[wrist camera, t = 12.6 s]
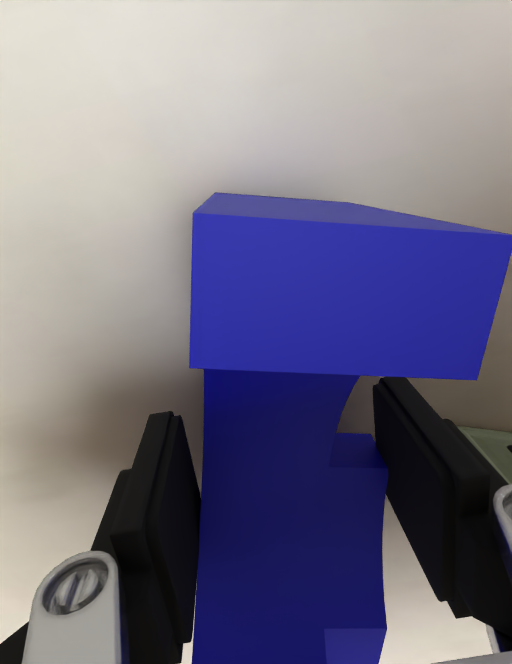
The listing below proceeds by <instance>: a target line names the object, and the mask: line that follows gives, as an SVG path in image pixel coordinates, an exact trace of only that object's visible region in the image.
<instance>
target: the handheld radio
mask: <svg viewBox="0 0 512 664" xmlns="http://www.w3.org/2000/svg"><path fill="white" fill-rule="evenodd" d="M456 427H457V428H458V429H459V430H460V431H461V432H462V433H463V434H464V435H465V436H466V438H467V439H468V440H469V441H470V442H471V443H472V444H473V445H474V446H475V447H476V449H477V450H478V451H479V452H480V453H481V454H482V455H483V456H484V457H485V458H486V460H487V461H488V462H489V463H490V464H491V465H492V466H493V467H494V468H495V469H496V471H497V472H498V473H499V474H500V475H501V476H502V477H503V478H504V479H505V480H506V482H507V483H508V484H512V433H511V432H503V431H495V430H488V429H480V428H472V427H464V426H456Z"/></svg>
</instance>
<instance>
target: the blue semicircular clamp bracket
mask: <svg viewBox="0 0 512 664" xmlns="http://www.w3.org/2000/svg"><path fill="white" fill-rule="evenodd" d="M511 252H512V235H511V234H506V233H501V232H496V231H491V230H486V229H481V228H476V227H471V226H465V225H460V224H455V223H450V222H445V221H440V220H435V219H430V218H425V217H420V216H415V215H410V214H405V213H399V212H394V211H389V210H384V209H379V208H374V207H369V206H364V205H359V204H354V203H348V202H335V201H322V200H308V199H295V198H281V197H268V196H254V195H241V194H228V193H214V194H213V195H212V196H211V197H210V198H209V199H208V200H206V201H205V202H204V203H203V204H202V205H201V206H200V207H199V208H198V209H196V210H195V211H194V212H193V230H192V274H191V318H190V362H189V368H198V369H204V437H203V467H202V492H201V513H200V534H199V558H198V571H197V588H196V605H195V622H194V638H193V653H192V664H378V663H379V659H380V655H381V651H382V647H383V643H384V639H385V635H386V631H387V624H386V613H385V603H384V588H383V566H382V532H383V514H384V504H385V494H386V488H387V481H388V468H387V466H386V464H385V462H384V461H383V459H382V457H381V455H380V453H379V451H378V450H377V448H376V443H375V441H374V439H373V437H372V435H371V434H359V433H336V430H337V426H338V423H339V420H340V417H341V414H342V411H343V408H344V406H345V403H346V401H347V399H348V397H349V395H350V393H351V391H352V389H353V387H354V385H355V384H356V382H357V380H358V379H359V377H360V376H361V375H363V376H387V377H410V378H434V379H457V380H477V378H478V375H479V371H480V367H481V363H482V360H483V356H484V352H485V349H486V345H487V341H488V338H489V334H490V330H491V326H492V323H493V319H494V315H495V312H496V308H497V304H498V301H499V297H500V293H501V289H502V286H503V282H504V278H505V275H506V271H507V267H508V263H509V260H510V256H511Z"/></svg>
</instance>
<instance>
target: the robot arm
mask: <svg viewBox="0 0 512 664" xmlns="http://www.w3.org/2000/svg"><path fill="white" fill-rule="evenodd" d="M373 406H374V424H375V441H376V448H377V450H378V451H379V453H380V455H381V457H382V459H383V461H384V462H385V464H386V466H387V468H388V481H387V488H386V496H387V498H388V500H389V502H390V504H391V506H392V508H393V510H394V512H395V514H396V516H397V518H398V520H399V522H400V524H401V526H402V528H403V530H404V532H405V534H406V536H407V538H408V540H409V542H410V545H411V547H412V549H413V551H414V553H415V555H416V557H417V559H418V561H419V563H420V565H421V567H422V569H423V571H424V573H425V575H426V577H427V579H428V581H429V583H430V585H431V587H432V589H433V591H434V593H435V595H436V597H437V599H438V600H439V601H441V602H442V601H447V602H448V604H449V606H450V608H451V610H452V612H453V614H454V616H455V618H456V619H457V618H463V617H469V616H473V617H474V618H476V619H478V620H480V621H481V622H483V623H485V624H486V630H487V634H488V637H489V641H490V644H491V648H492V652H493V654H489V655H483V656H476V657H470V658H464V659H457V660H451V661H444V662H438V663H431V664H512V484H508V483H507V482H506V480H505V479H504V478H503V477H502V476H501V475H500V474H499V473H498V472H497V471H496V469H495V468H494V467H493V466H492V465H491V464H490V463H489V462H488V461H487V460H486V458H485V457H484V456H483V455H482V454H481V453H480V452H479V451H478V450H477V449H476V447H475V446H474V445H473V444H472V443H471V442H470V441H469V440H468V439H467V438H466V436H465V435H464V434H463V433H462V432H461V431H460V430H459V429H458V428H457V427H456V425H455V424H454V423H453V422H452V421H450V420H449V419H441V418H440V416H439V415H438V414H437V413H436V412H435V411H434V410H433V408H432V407H431V406H430V405H429V404H428V403H427V402H426V400H425V399H424V398H423V397H422V396H421V395H420V394H419V392H418V391H417V390H416V389H415V388H414V387H413V386H412V384H411V383H410V382H409V381H408V380H407V379H406V378H405V377H383V378H380V380H379V384H374V385H373ZM200 513H201V496H200V492H199V488H198V483H197V479H196V475H195V471H194V467H193V462H192V458H191V454H190V450H189V445H188V441H187V437H186V433H185V428H184V424H183V420H182V417H181V416H180V415H178V416H174V414H173V412H172V411H168V412H162V413H156V414H150V415H149V418H148V421H147V424H146V427H145V430H144V433H143V436H142V439H141V442H140V445H139V448H138V451H137V454H136V457H135V460H134V463H133V466H132V469H126V470H122V471H121V472H120V473H119V475H118V478H117V480H116V483H115V486H114V488H113V491H112V494H111V497H110V499H109V502H108V505H107V507H106V510H105V513H104V515H103V518H102V521H101V524H100V526H99V529H98V532H97V534H96V537H95V540H94V542H93V545H92V548H91V550H90V551H88V552H84V553H80V554H77V555H75V556H73V557H70V558H68V559H66V560H65V561H63V562H62V563H60V564H59V565H58V566H56V567H55V568H54V569H53V570H52V571H51V572H50V573H49V574H48V575H47V576H46V577H45V578H44V579H43V581H42V582H41V584H40V585H39V587H38V588H37V590H36V593H35V596H34V599H33V602H32V608H31V614H30V619H29V622H27V623H26V624H25V625H24V626H22V627H21V628H20V629H19V630H17V631H16V632H15V633H14V634H12V635H11V636H10V637H8V638H7V639H6V640H5V641H3V642H2V643H1V644H0V664H179V663H181V660H182V650H183V643H188V642H191V639H192V633H193V620H194V608H195V595H196V583H197V570H198V558H199V534H200Z"/></svg>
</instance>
